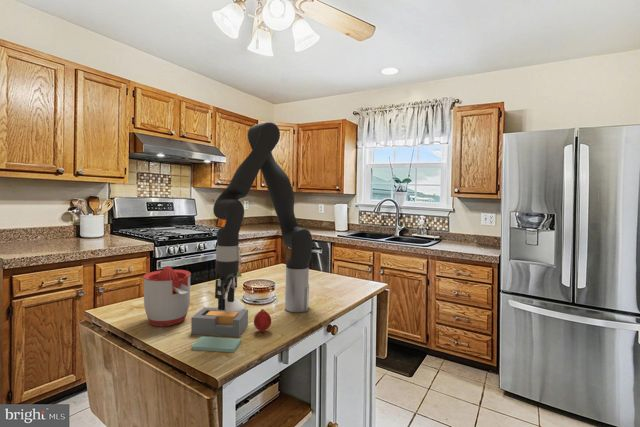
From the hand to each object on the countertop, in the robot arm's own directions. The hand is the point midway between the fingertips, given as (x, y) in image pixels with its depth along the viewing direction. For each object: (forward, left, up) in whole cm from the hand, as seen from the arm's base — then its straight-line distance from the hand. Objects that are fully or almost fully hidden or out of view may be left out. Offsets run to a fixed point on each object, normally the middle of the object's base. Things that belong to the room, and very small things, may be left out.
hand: (226, 305), depth 115 cm
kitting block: (+1, 0, -8) cm, 9 cm away
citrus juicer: (+22, -4, -9) cm, 24 cm away
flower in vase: (+3, -15, -9) cm, 18 cm away
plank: (+1, 0, -5) cm, 6 cm away
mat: (-2, +12, -8) cm, 15 cm away
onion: (-13, 0, -9) cm, 15 cm away
